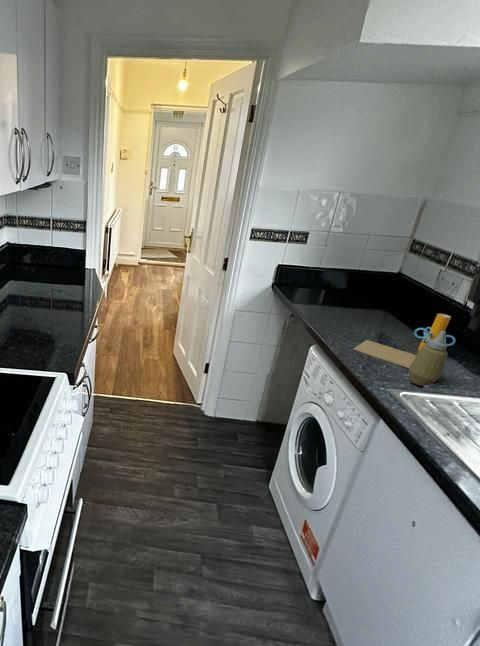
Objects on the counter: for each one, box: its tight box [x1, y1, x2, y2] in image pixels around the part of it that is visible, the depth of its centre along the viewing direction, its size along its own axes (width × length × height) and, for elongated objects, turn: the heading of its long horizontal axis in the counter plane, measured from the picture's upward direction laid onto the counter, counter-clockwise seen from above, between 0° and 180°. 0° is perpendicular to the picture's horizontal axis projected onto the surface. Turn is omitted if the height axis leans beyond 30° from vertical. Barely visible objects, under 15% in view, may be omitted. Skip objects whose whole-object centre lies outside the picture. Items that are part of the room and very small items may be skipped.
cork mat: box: [352, 339, 417, 369], centre depth 151 cm, size 18×14×1 cm
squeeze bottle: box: [408, 330, 449, 387], centre depth 128 cm, size 8×8×18 cm
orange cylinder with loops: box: [413, 313, 457, 352], centre depth 151 cm, size 12×10×15 cm
